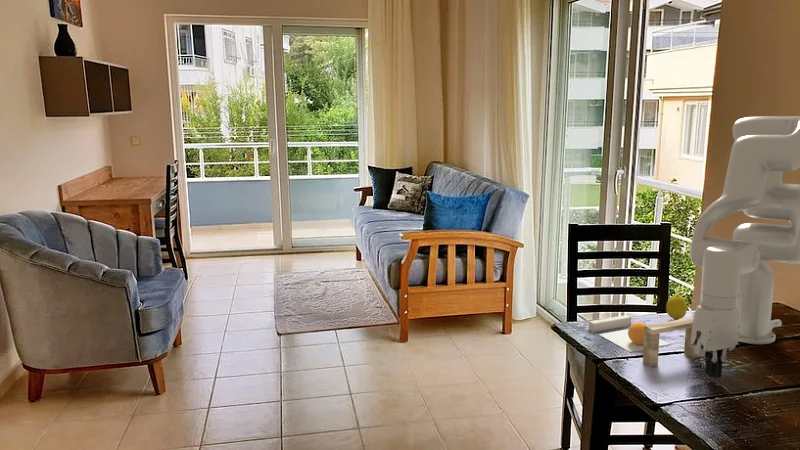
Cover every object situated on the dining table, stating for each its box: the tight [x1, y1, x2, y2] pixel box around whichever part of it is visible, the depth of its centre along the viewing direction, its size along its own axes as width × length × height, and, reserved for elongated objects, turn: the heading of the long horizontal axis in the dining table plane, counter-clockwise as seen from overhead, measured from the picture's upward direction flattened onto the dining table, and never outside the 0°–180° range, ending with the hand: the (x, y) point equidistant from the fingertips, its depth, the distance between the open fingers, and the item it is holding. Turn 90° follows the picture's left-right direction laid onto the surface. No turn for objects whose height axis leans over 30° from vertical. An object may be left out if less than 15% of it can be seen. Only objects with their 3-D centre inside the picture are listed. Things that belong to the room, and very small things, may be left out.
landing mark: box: [598, 328, 671, 353], centre depth 163 cm, size 13×13×1 cm
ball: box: [628, 321, 648, 345], centre depth 159 cm, size 6×6×6 cm
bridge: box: [642, 316, 700, 368], centre depth 149 cm, size 3×15×10 cm, turn 108°
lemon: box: [665, 294, 688, 321], centre depth 175 cm, size 6×6×8 cm
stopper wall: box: [588, 314, 632, 333], centre depth 172 cm, size 13×2×2 cm, turn 108°
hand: (713, 375), depth 137 cm, fingers closed
